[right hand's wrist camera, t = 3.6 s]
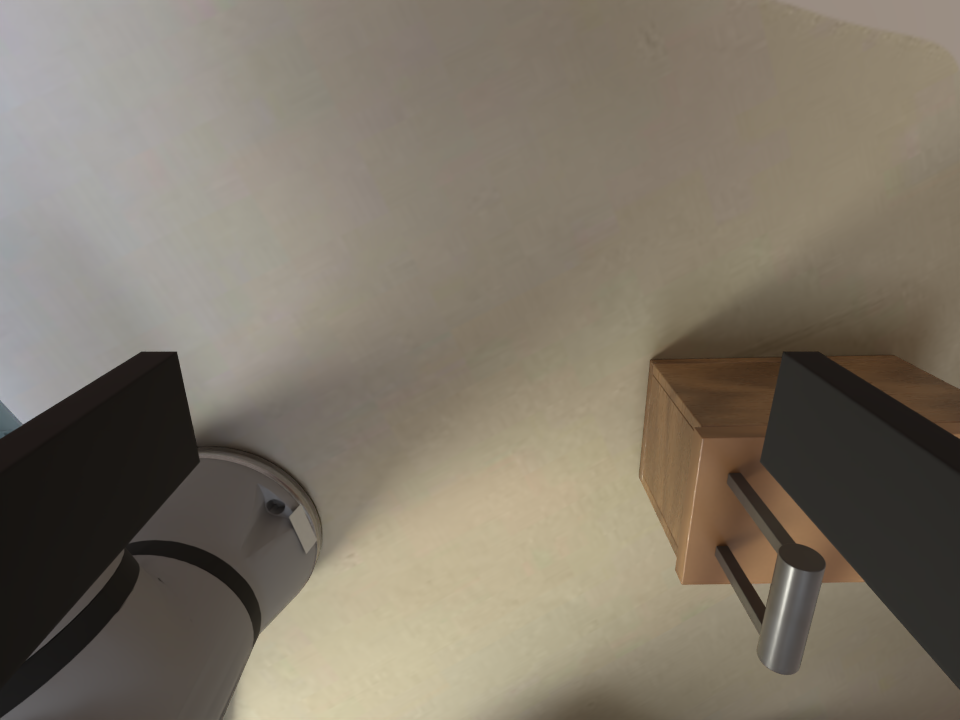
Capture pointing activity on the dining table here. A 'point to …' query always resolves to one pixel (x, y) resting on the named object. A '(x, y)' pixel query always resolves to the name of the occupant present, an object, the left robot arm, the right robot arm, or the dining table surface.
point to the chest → (748, 411)
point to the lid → (756, 540)
